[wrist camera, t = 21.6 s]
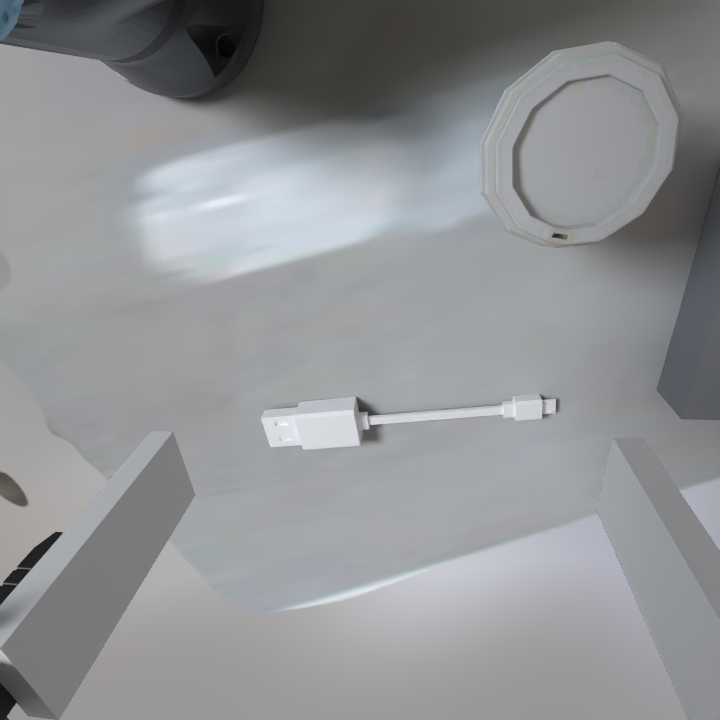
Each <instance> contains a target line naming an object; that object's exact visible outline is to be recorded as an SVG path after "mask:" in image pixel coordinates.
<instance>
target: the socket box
mask: <svg viewBox="0 0 720 720" xmlns="http://www.w3.org/2000/svg"><path fill="white" fill-rule="evenodd" d="M657 391H658V392H659V393H660V395H661V396H662V397H663V398H664V399H665V400H666V402H667V403H668V404H669V405H670V406H671V407H672V409H673V410H674V411H675V412H676V413H677V415H678V416H679V417H680V418H681V419H708V420H720V170H719V174H718V177H717V181H716V184H715V188H714V191H713V195H712V198H711V202H710V205H709V209H708V212H707V216H706V219H705V223H704V226H703V230H702V234H701V237H700V241H699V244H698V248H697V251H696V255H695V258H694V262H693V265H692V269H691V272H690V276H689V279H688V283H687V286H686V290H685V293H684V297H683V300H682V304H681V307H680V311H679V314H678V318H677V321H676V325H675V328H674V332H673V335H672V339H671V343H670V346H669V350H668V353H667V357H666V360H665V364H664V367H663V371H662V374H661V378H660V381H659V385H658V388H657Z"/></svg>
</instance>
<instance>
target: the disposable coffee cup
mask: <svg viewBox="0 0 720 720" xmlns="http://www.w3.org/2000/svg"><path fill="white" fill-rule="evenodd" d="M682 116H683V113H682V110H681V108H680V106H679V103H678V101H677V99H676V96H675V94H674V91H673V89H672V87H671V84H670V82H669V79H668V77H667V75H666V72H665V70H664V68H663V65H661V64H659V63H657V62H655V61H653V60H651V59H649V58H647V57H645V56H643V55H641V54H639V53H637V52H635V51H633V50H631V49H629V48H627V47H625V46H623V45H621V44H619V43H617V42H612V41H606V42H600V43H594V44H589V45H583V46H577V47H572V48H566V49H560V50H555V51H552V52H551V53H550V54H549V55H547V56H546V57H545V58H544V59H542V60H541V61H540V62H539V63H537V64H536V65H535V66H534V67H533V68H531V69H530V70H529V71H528V72H526V73H525V74H524V75H523V76H521V77H520V78H519V79H518V80H516V81H515V82H514V83H513V84H511V85H510V86H509V87H508V88H507V89H505V91H504V93H503V95H502V97H501V99H500V101H499V103H498V106H497V108H496V110H495V112H494V114H493V116H492V118H491V120H490V122H489V124H488V126H487V128H486V130H485V132H484V134H483V136H482V139H481V141H480V192H481V194H482V196H483V197H484V199H485V201H486V202H487V204H488V205H489V207H490V209H491V210H492V212H493V213H494V215H495V217H496V218H497V220H498V221H499V223H500V225H501V226H502V228H503V229H504V230H505V231H507V232H509V233H512V234H514V235H516V236H518V237H521V238H523V239H525V240H527V241H530V242H532V243H534V244H538V245H541V246H548V247H555V248H559V247H568V246H578V245H587V244H595V243H596V242H600V241H602V240H604V239H605V238H607V237H609V236H610V235H612V234H613V233H615V232H616V231H618V230H619V229H621V228H622V227H624V226H625V225H627V224H628V223H630V222H632V221H633V220H635V219H636V218H638V217H639V216H641V215H642V214H643V213H644V212H645V210H646V209H647V207H648V206H649V204H650V203H651V201H652V200H653V198H654V196H655V195H656V193H657V192H658V190H659V189H660V187H661V186H662V184H663V183H664V181H665V180H666V179H667V177H668V176H669V174H670V173H671V171H672V170H673V167H674V161H675V156H676V150H677V144H678V139H679V133H680V127H681V121H682Z"/></svg>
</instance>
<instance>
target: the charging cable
mask: <svg viewBox="0 0 720 720" xmlns="http://www.w3.org/2000/svg"><path fill="white" fill-rule="evenodd" d="M555 412H556V399H546V400H542V399H541V397H540V395H539V394H531V395H519V396H513V400H512V401H502V405H495V406H483V407H471V408H459V409H447V410H435V411H423V412H411V413H399V414H387V415H375V416H368V412H359V409H358V404H357V399H356V397H347V398H336V399H325V400H314V401H303V402H299V404H298V406H297V407H294V408H282V409H271V410H265V411H264V413H263V415H262V417H261V419H262V422H263V426H264V429H265V432H266V435H267V438H268V441H269V444H270V447H280V446H293V445H302V448H303V450H313V449H326V448H340V447H354V446H361V442H362V435H363V430H367V429H370V425H376V424H389V423H401V422H414V421H426V420H439V419H451V418H464V417H477V416H489V415H502V414H503V417H504V418H511V417H514V419H515V421H525V420H538V419H542V414H552V413H555Z"/></svg>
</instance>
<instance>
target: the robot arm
mask: <svg viewBox="0 0 720 720" xmlns="http://www.w3.org/2000/svg"><path fill="white" fill-rule="evenodd" d="M262 13H263V0H0V44H6V45H12V46H18V47H24V48H30V49H36V50H42V51H48V52H54V53H61V54H67V55H73V56H79V57H85V58H91V59H97V60H100V61H102V62H103V63H104V64H105V65H107V66H108V67H110V68H111V69H112V70H113V71H114V72H115V73H117V74H118V75H119V76H120V77H122V78H123V79H125V80H126V81H128V82H129V83H131V84H133V85H134V86H136V87H138V88H141V89H143V90H145V91H148V92H150V93H153V94H157V95H161V96H167V97H177V98H195V97H201V96H205V95H208V94H211V93H213V92H215V91H217V90H219V89H221V88H222V87H224V86H225V85H227V84H228V83H229V82H230V81H231V80H233V79H234V78H235V77H236V75H237V74H238V73H239V72H240V71H241V70H242V68H243V67H244V65H245V64H246V62H247V60H248V59H249V57H250V55H251V53H252V51H253V48H254V46H255V43H256V40H257V37H258V34H259V30H260V26H261V20H262ZM194 496H195V493H194V490H193V487H192V484H191V481H190V479H189V476H188V473H187V470H186V467H185V465H184V462H183V459H182V456H181V453H180V450H179V448H178V445H177V442H176V439H175V436H174V433H173V432H150V433H149V435H148V436H147V437H146V438H145V439H144V440H143V441H142V443H141V444H140V445H139V446H138V447H137V448H136V449H135V451H134V452H133V453H132V454H131V455H130V456H129V458H128V459H127V460H126V461H125V462H124V463H123V464H122V466H121V467H120V468H119V469H118V470H117V471H116V473H115V474H114V475H113V476H112V477H111V478H110V479H109V481H108V482H107V483H106V484H105V485H104V486H103V488H102V489H101V490H100V491H99V492H98V494H96V496H95V497H94V498H93V499H92V500H91V501H90V503H89V504H88V505H87V506H86V507H85V508H84V509H83V511H82V512H81V513H80V514H79V515H78V516H77V518H76V519H75V520H74V521H73V522H72V523H71V524H70V526H69V527H68V528H67V529H66V530H65V531H64V532H55V533H54V534H52V535H51V536H50V537H48V538H47V539H45V540H44V541H43V542H41V543H40V544H39V545H37V546H36V547H35V548H34V549H33V550H32V551H31V552H30V553H29V554H28V555H27V556H26V558H25V559H24V560H23V561H22V562H21V563H20V564H19V565H18V567H17V570H14V571H13V572H12V573H11V574H10V575H9V577H7V578H6V580H5V581H4V582H3V585H2V586H0V720H9V719H8V718H7V715H8V714H9V712H10V711H11V709H12V708H13V706H14V705H15V704H16V703H17V704H18V705H19V706H20V707H21V708H22V710H23V711H24V712H25V713H26V714H27V715H28V716H31V717H39V718H48V719H54V720H59V719H60V717H61V716H62V714H63V712H64V710H65V709H66V707H67V706H68V704H69V702H70V701H71V699H72V697H73V696H74V694H75V692H76V691H77V689H78V687H79V686H80V684H81V683H82V681H83V679H84V678H85V676H86V674H87V673H88V671H89V669H90V668H91V666H92V664H93V663H94V661H95V660H96V658H97V656H98V655H99V653H100V651H101V650H102V648H103V646H104V644H105V643H106V641H107V640H108V638H109V636H110V635H111V633H112V631H113V630H114V628H115V626H116V625H117V623H118V622H119V620H120V618H121V617H122V615H123V613H124V612H125V610H126V608H127V606H128V605H129V603H130V602H131V600H132V598H133V597H134V595H135V594H136V592H137V590H138V588H139V587H140V585H141V584H142V582H143V580H144V579H145V577H146V575H147V574H148V572H149V570H150V569H151V567H152V565H153V564H154V562H155V560H156V559H157V557H158V555H159V554H160V552H161V551H162V549H163V547H164V546H165V544H166V542H167V541H168V539H169V537H170V536H171V534H172V532H173V531H174V529H175V528H176V526H177V524H178V523H179V521H180V519H181V518H182V516H183V514H184V513H185V511H186V509H187V508H188V506H189V504H190V503H191V501H192V499H193V498H194ZM596 510H597V512H598V515H599V517H600V519H601V521H602V524H603V526H604V529H605V531H606V533H607V535H608V538H609V540H610V542H611V545H612V547H613V549H614V551H615V554H616V556H617V558H618V561H619V563H620V565H621V568H622V570H623V572H624V574H625V577H626V579H627V581H628V584H629V586H630V588H631V591H632V593H633V595H634V597H635V600H636V602H637V604H638V607H639V609H640V611H641V614H642V616H643V618H644V620H645V622H646V625H647V627H648V630H649V632H650V634H651V636H652V639H653V641H654V643H655V646H656V648H657V650H658V652H659V655H660V657H661V659H662V662H663V664H664V666H665V668H666V671H667V673H668V676H669V678H670V680H671V682H672V685H673V687H674V689H675V692H676V694H677V696H678V699H679V700H680V703H681V705H682V707H683V710H684V712H685V714H686V717H687V719H688V720H720V550H719V549H718V548H717V546H716V545H715V543H714V542H713V540H712V539H711V537H710V536H709V534H708V533H707V531H706V530H705V528H704V527H703V525H702V524H701V523H700V521H699V520H698V518H697V517H696V515H695V514H694V512H693V511H692V509H691V508H690V506H689V505H688V503H687V502H686V500H685V499H684V497H683V496H682V494H681V493H680V491H679V490H678V489H677V487H676V486H675V484H674V483H673V481H672V480H671V478H670V477H669V475H668V474H667V472H666V471H665V469H664V468H663V466H662V465H661V463H660V462H659V461H658V459H657V458H656V456H655V455H654V453H653V452H652V450H651V449H650V447H649V446H648V444H647V443H646V441H645V440H644V438H613V441H612V445H611V450H610V454H609V458H608V462H607V467H606V471H605V475H604V479H603V484H602V488H601V492H600V496H599V500H598V505H597V509H596Z"/></svg>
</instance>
